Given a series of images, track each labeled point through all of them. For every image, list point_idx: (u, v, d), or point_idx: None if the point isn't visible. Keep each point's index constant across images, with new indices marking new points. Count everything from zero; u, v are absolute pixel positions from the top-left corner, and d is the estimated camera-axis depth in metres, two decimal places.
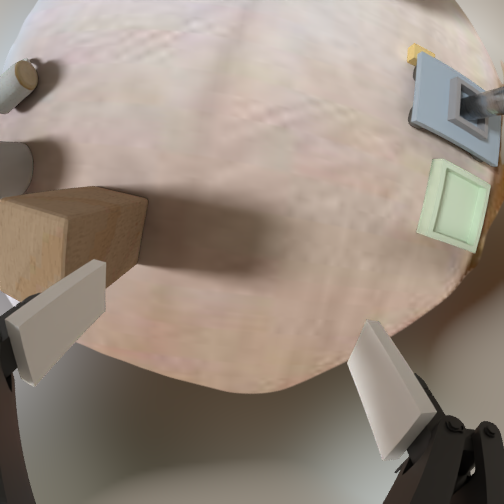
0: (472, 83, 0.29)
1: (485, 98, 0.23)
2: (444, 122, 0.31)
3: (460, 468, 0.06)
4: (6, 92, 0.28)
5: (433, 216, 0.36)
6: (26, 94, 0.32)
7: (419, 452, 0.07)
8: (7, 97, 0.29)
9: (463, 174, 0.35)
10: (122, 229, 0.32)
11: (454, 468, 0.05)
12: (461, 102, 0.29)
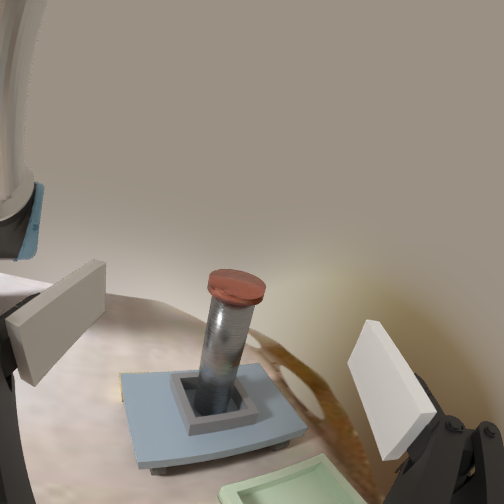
0: None
1: (203, 362, 0.25)
2: (185, 441, 0.22)
3: (460, 468, 0.06)
4: None
5: None
6: None
7: (419, 452, 0.07)
8: None
9: (271, 479, 0.21)
10: None
11: (454, 468, 0.05)
12: (195, 401, 0.27)
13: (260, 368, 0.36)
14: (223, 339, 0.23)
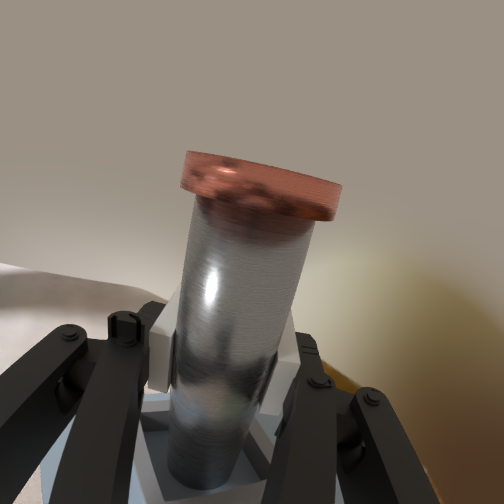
0: None
1: (174, 392, 0.09)
2: None
3: (339, 435, 0.08)
4: None
5: None
6: None
7: (289, 413, 0.08)
8: None
9: None
10: None
11: (330, 428, 0.06)
12: (167, 458, 0.11)
13: None
14: (223, 335, 0.08)
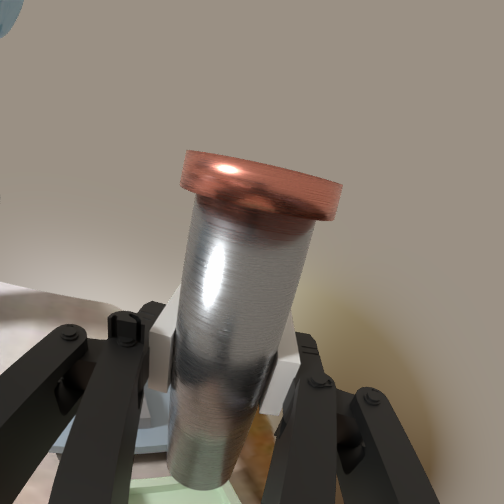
0: None
1: (174, 392, 0.09)
2: None
3: (339, 436, 0.08)
4: None
5: None
6: None
7: (289, 413, 0.08)
8: None
9: (158, 483, 0.20)
10: None
11: (330, 428, 0.06)
12: (167, 458, 0.11)
13: None
14: (223, 335, 0.08)
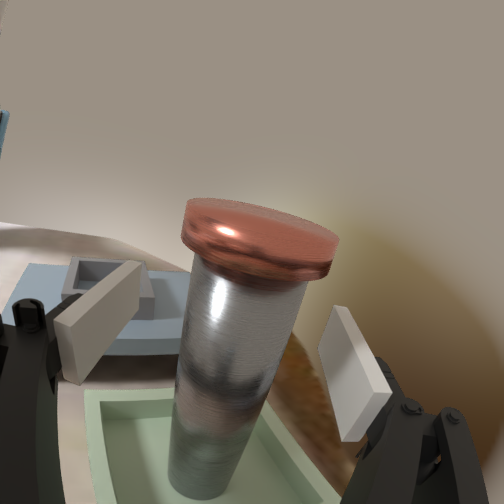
0: None
1: (176, 417, 0.10)
2: None
3: (422, 454, 0.07)
4: None
5: None
6: None
7: (377, 436, 0.08)
8: None
9: (157, 397, 0.16)
10: None
11: (415, 452, 0.05)
12: (168, 471, 0.12)
13: (188, 276, 0.31)
14: (222, 376, 0.08)
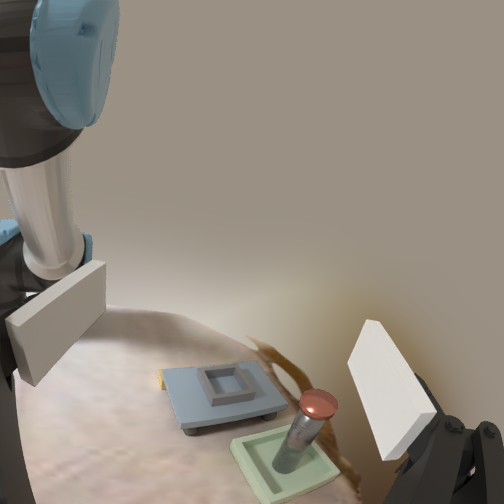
0: (219, 366, 0.49)
1: (288, 445, 0.31)
2: (209, 410, 0.38)
3: (460, 468, 0.06)
4: None
5: (262, 484, 0.29)
6: None
7: (419, 452, 0.07)
8: None
9: (263, 435, 0.37)
10: None
11: (454, 468, 0.05)
12: (274, 464, 0.33)
13: (257, 364, 0.52)
14: (307, 435, 0.29)
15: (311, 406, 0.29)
